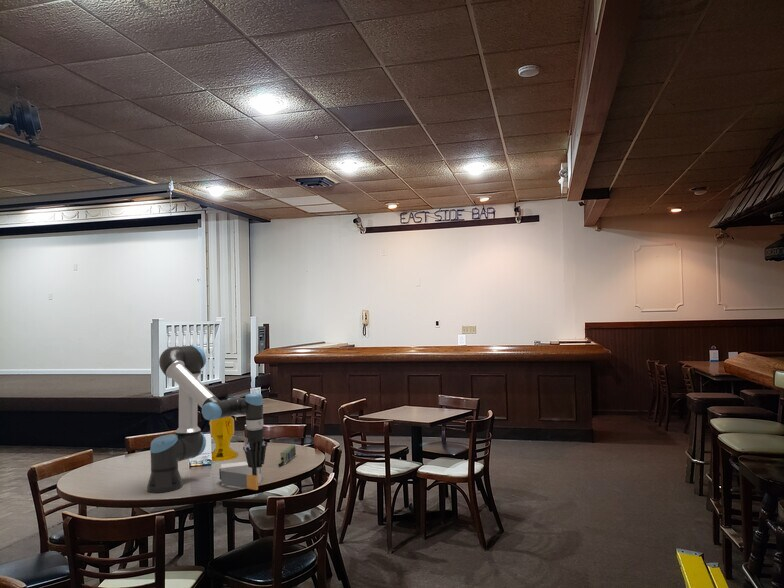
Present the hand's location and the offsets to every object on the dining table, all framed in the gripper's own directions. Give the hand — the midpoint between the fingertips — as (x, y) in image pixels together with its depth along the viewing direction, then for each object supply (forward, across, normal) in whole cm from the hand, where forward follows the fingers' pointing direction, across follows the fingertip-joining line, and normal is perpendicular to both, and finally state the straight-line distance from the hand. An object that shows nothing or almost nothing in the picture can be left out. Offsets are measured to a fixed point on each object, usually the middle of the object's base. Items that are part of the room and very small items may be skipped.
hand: (256, 482), depth 255 cm
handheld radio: (+4, +47, +26) cm, 54 cm away
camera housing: (+4, +8, +18) cm, 20 cm away
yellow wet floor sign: (+4, +39, +68) cm, 79 cm away
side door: (+2, -2, +9) cm, 9 cm away
